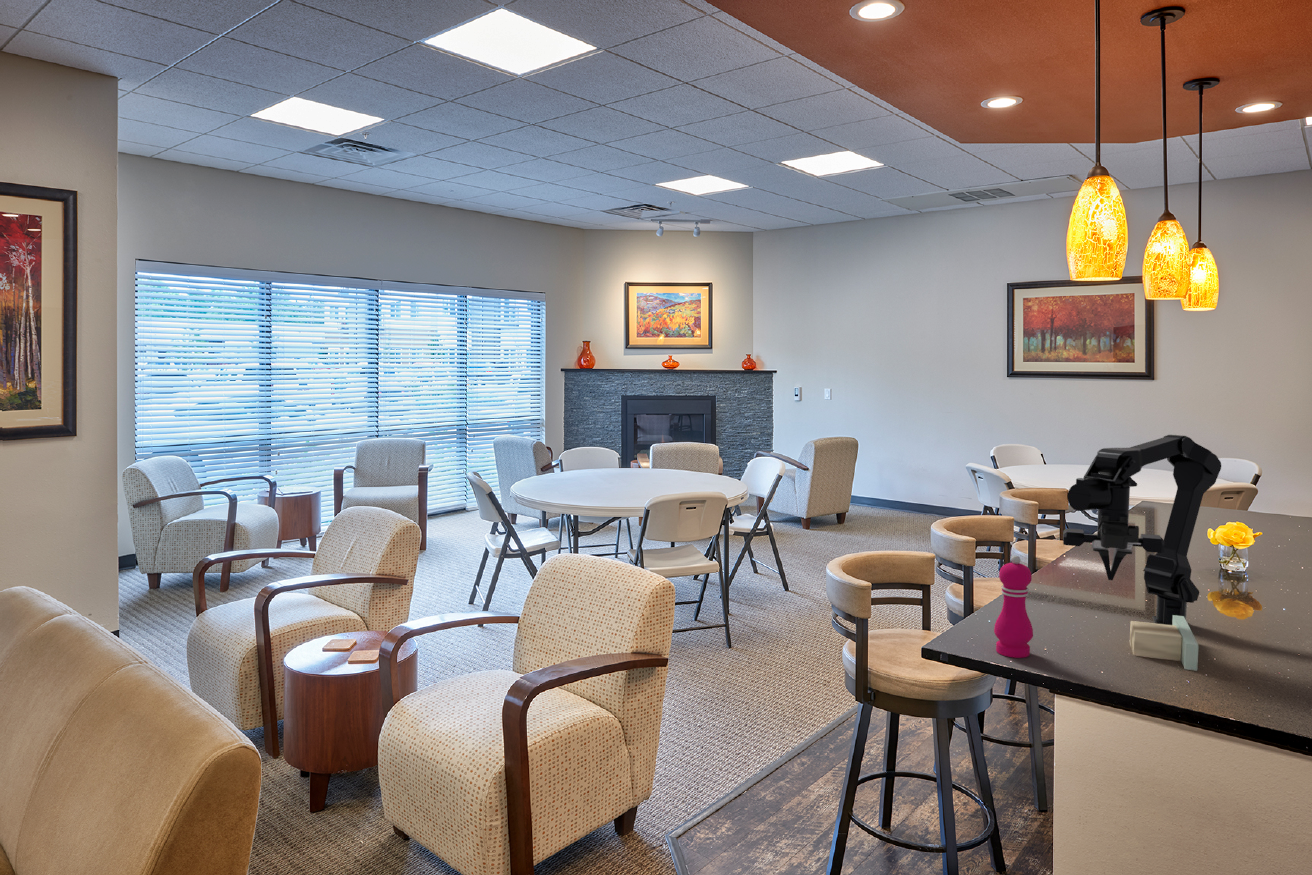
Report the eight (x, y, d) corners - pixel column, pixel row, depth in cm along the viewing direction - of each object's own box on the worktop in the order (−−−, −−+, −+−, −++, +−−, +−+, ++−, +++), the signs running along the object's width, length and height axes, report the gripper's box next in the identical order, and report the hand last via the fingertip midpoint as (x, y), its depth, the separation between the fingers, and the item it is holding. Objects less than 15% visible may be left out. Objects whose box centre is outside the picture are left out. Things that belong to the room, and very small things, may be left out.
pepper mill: (1002, 644, 172) (1005, 549, 170) (1038, 652, 167) (1041, 555, 165) (987, 652, 167) (990, 555, 165) (1023, 661, 162) (1027, 561, 160)
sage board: (1171, 637, 175) (1172, 614, 175) (1182, 639, 174) (1183, 616, 174) (1184, 668, 157) (1186, 643, 157) (1197, 670, 156) (1198, 644, 156)
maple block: (1129, 643, 172) (1130, 620, 172) (1174, 649, 169) (1175, 625, 168) (1133, 656, 165) (1134, 631, 165) (1180, 662, 162) (1181, 637, 161)
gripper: (1064, 510, 172) (1062, 583, 174) (1169, 517, 164) (1165, 594, 165) (1064, 502, 182) (1061, 572, 184) (1163, 508, 174) (1159, 581, 175)
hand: (1110, 579), depth 177 cm, fingers closed
